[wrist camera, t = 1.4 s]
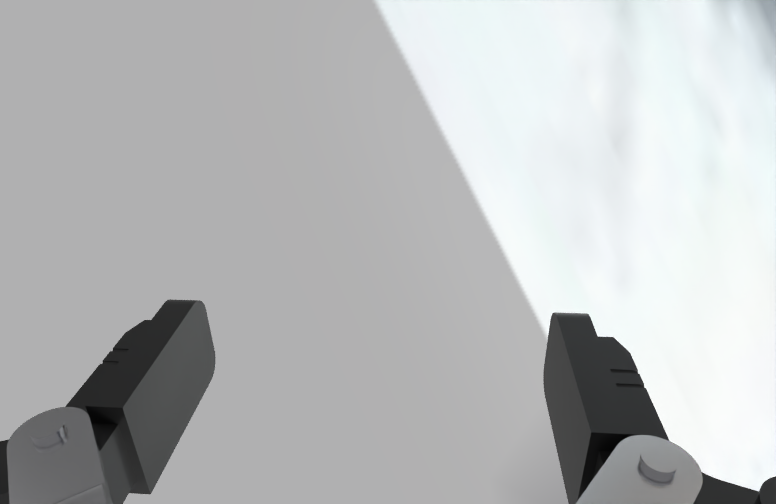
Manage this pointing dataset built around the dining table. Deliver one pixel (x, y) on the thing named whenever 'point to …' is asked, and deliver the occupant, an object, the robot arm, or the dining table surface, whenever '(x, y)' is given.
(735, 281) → the dining table surface
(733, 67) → the dining table surface
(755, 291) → the dining table surface
